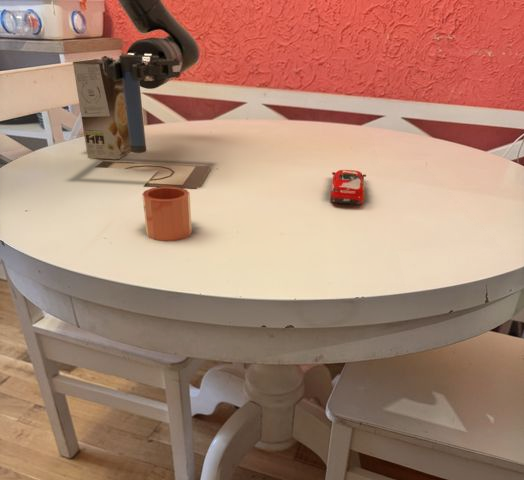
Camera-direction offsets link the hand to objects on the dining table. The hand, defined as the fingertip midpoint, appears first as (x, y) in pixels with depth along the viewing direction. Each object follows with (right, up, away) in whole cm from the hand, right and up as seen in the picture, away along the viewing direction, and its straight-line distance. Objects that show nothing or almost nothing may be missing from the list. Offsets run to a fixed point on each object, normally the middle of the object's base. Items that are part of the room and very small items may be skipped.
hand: (124, 72), depth 76 cm
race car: (+35, -17, +5) cm, 39 cm away
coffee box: (-9, -3, +24) cm, 25 cm away
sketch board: (+1, -12, +11) cm, 16 cm away
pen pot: (+9, -27, -11) cm, 31 cm away
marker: (0, -8, +9) cm, 12 cm away
